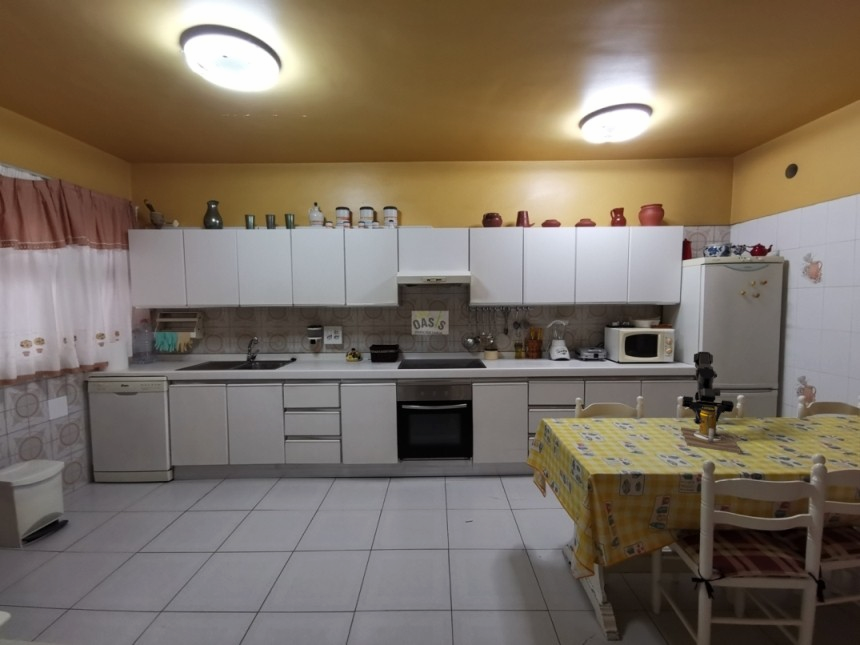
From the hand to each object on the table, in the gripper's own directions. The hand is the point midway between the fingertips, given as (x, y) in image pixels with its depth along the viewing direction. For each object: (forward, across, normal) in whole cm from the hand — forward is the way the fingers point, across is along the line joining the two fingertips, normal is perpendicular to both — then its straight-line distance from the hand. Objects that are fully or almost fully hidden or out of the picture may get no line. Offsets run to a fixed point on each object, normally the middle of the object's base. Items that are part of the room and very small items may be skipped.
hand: (708, 420), depth 167 cm
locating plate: (+7, 0, +6) cm, 9 cm away
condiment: (+4, +1, +6) cm, 7 cm away
